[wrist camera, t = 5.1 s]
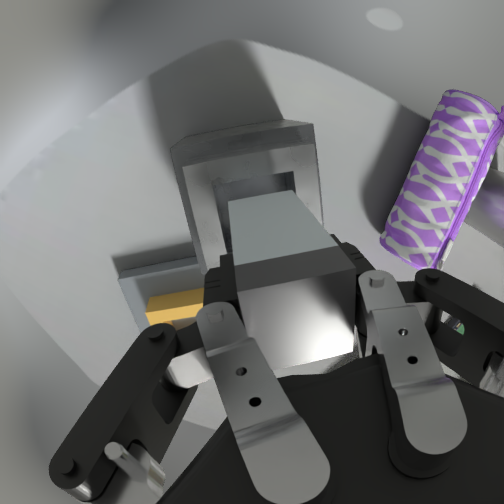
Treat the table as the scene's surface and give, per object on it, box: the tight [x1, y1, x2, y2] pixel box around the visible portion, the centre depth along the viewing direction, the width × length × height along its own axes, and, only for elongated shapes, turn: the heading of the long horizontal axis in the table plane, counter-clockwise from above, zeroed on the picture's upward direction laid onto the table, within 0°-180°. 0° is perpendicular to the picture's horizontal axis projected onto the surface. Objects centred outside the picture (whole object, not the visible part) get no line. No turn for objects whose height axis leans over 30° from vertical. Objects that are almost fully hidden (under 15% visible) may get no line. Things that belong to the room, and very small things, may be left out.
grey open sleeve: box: [170, 119, 324, 275], centre depth 25 cm, size 10×10×13 cm
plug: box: [228, 190, 356, 370], centre depth 14 cm, size 4×4×9 cm
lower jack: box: [118, 256, 205, 332], centre depth 35 cm, size 14×14×5 cm
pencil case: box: [380, 90, 504, 271], centre depth 29 cm, size 22×9×9 cm, turn 161°
